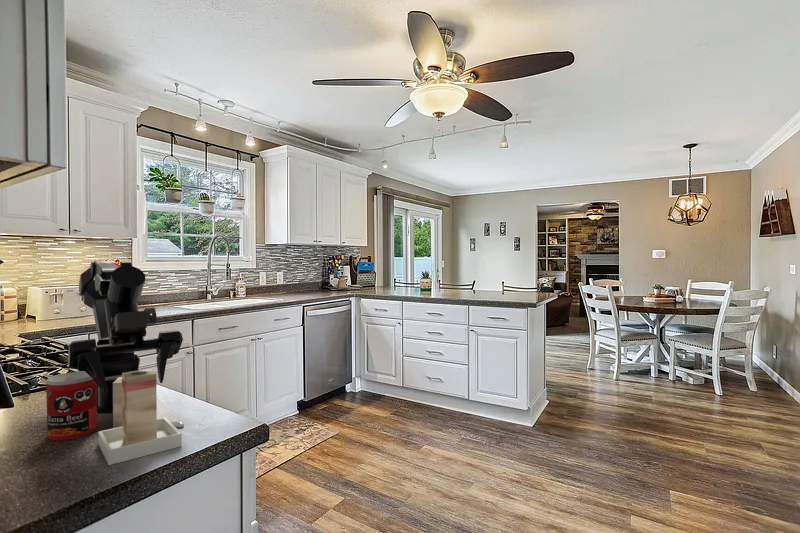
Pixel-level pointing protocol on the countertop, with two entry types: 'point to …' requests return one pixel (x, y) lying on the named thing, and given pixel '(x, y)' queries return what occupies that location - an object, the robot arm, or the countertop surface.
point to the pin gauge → (178, 424)
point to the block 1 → (117, 403)
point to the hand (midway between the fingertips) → (134, 386)
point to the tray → (119, 452)
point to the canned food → (71, 405)
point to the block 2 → (139, 406)
